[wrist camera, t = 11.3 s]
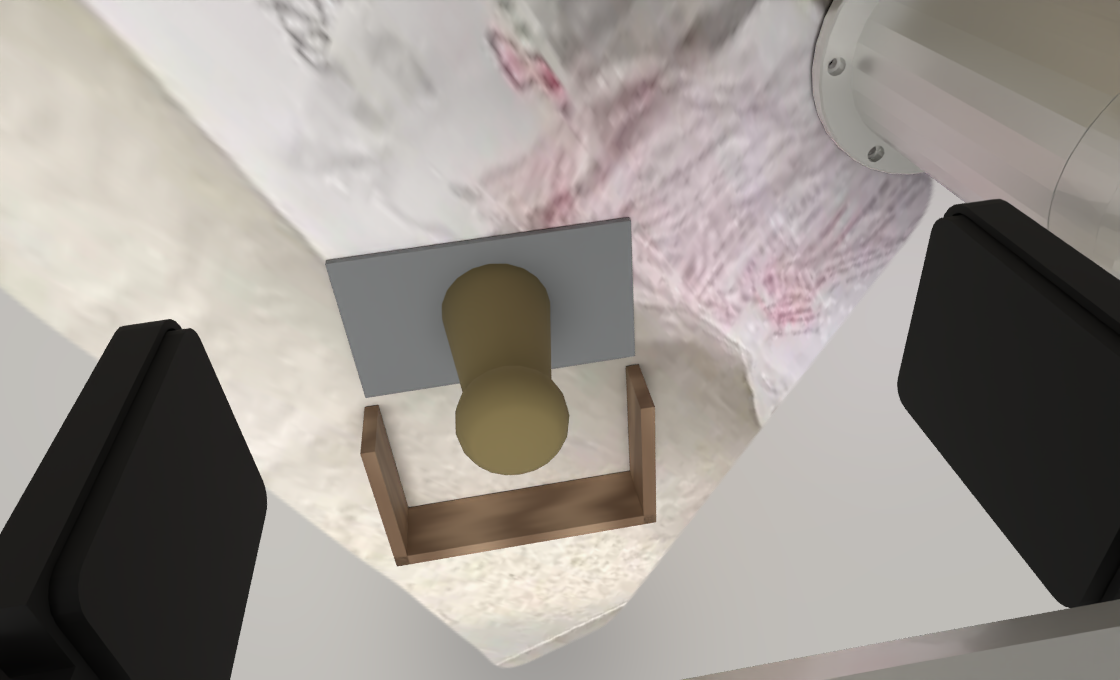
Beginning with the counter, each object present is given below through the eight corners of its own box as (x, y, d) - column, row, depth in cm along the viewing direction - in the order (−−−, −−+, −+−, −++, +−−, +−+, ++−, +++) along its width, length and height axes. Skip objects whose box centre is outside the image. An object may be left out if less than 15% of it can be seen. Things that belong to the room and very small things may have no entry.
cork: (472, 245, 40) (487, 374, 31) (570, 289, 42) (609, 420, 34) (422, 332, 43) (422, 473, 34) (517, 368, 45) (540, 509, 36)
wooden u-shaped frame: (638, 364, 47) (654, 406, 44) (641, 477, 53) (656, 522, 49) (364, 407, 46) (360, 453, 42) (398, 518, 51) (397, 566, 48)
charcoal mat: (629, 217, 41) (630, 220, 41) (633, 351, 46) (634, 356, 46) (326, 260, 40) (325, 264, 39) (365, 393, 45) (365, 397, 45)
